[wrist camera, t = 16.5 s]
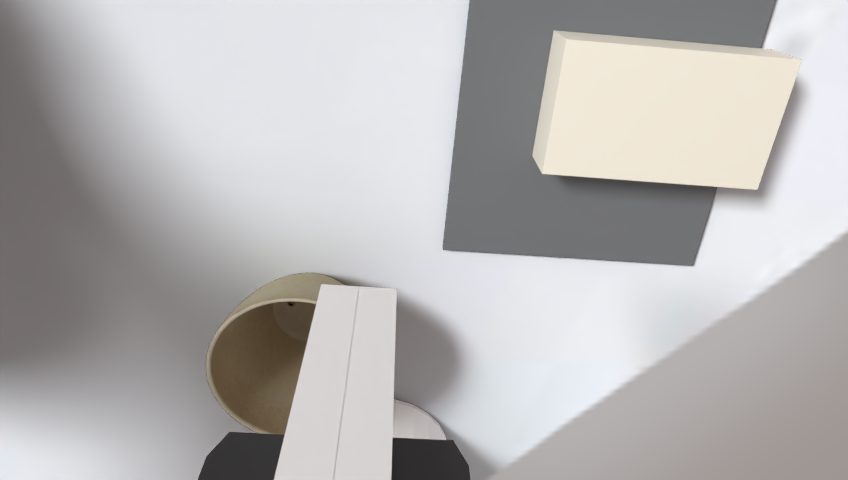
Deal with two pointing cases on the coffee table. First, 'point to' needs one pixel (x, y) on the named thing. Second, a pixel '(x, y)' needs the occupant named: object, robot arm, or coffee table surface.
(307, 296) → the flower pot
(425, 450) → the robot arm
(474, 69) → the mat
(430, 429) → the mug
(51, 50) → the coffee table surface
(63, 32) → the coffee table surface
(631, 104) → the slab
